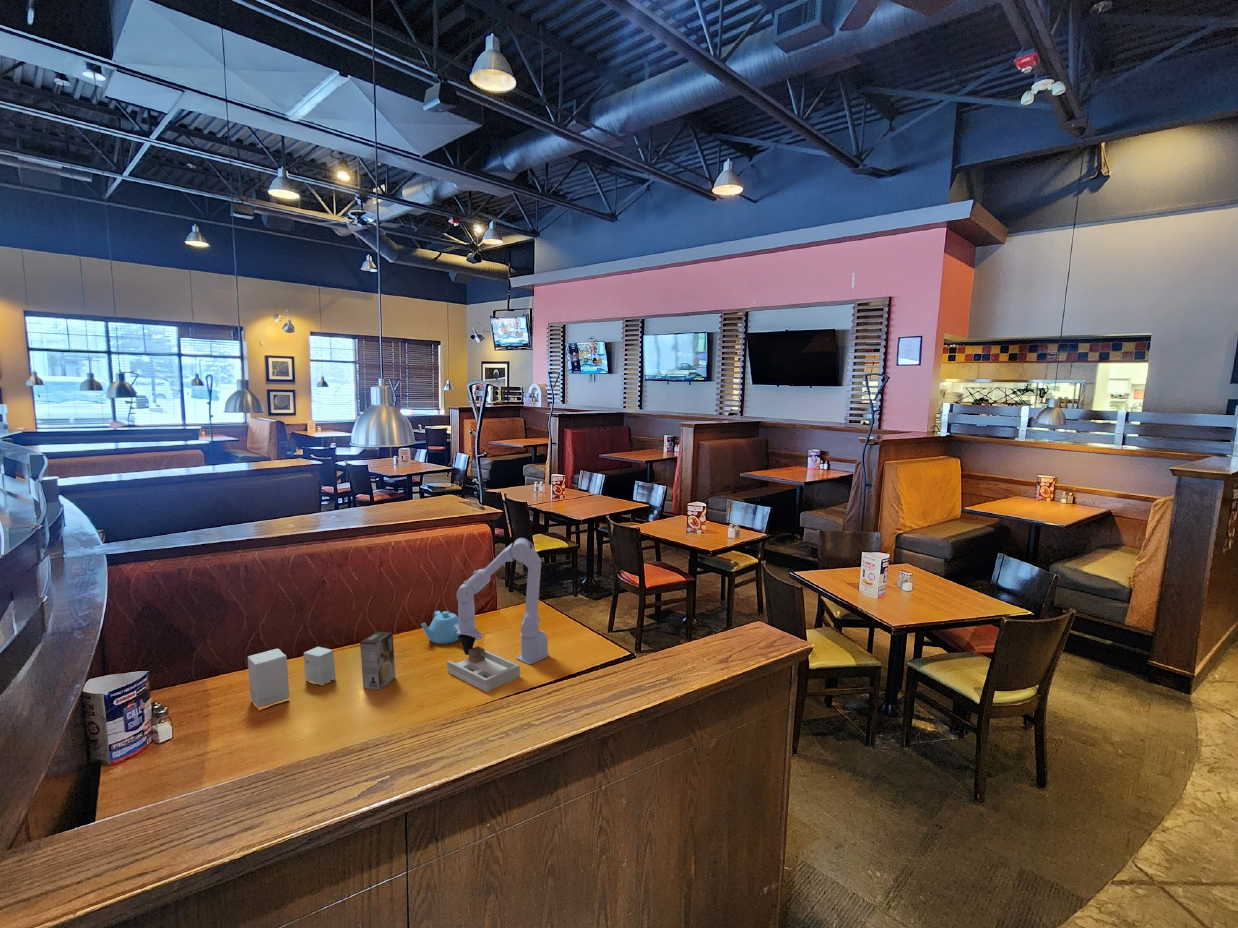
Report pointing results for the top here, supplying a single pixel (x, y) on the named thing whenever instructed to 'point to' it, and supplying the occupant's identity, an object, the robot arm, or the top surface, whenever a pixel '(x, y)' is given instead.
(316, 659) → the small box
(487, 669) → the tray
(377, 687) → the coffee box
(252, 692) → the supplement box
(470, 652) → the walnut block
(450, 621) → the teapot
